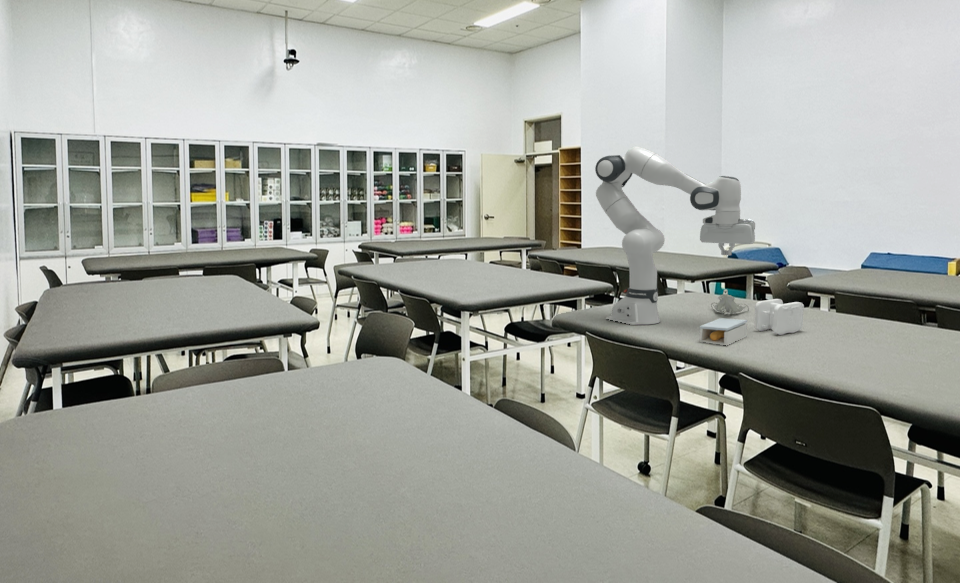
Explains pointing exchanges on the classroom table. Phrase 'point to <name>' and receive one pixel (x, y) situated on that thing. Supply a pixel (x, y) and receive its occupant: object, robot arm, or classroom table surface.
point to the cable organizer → (778, 316)
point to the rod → (717, 334)
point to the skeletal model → (728, 304)
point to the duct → (728, 337)
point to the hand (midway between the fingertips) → (726, 255)
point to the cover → (723, 324)
